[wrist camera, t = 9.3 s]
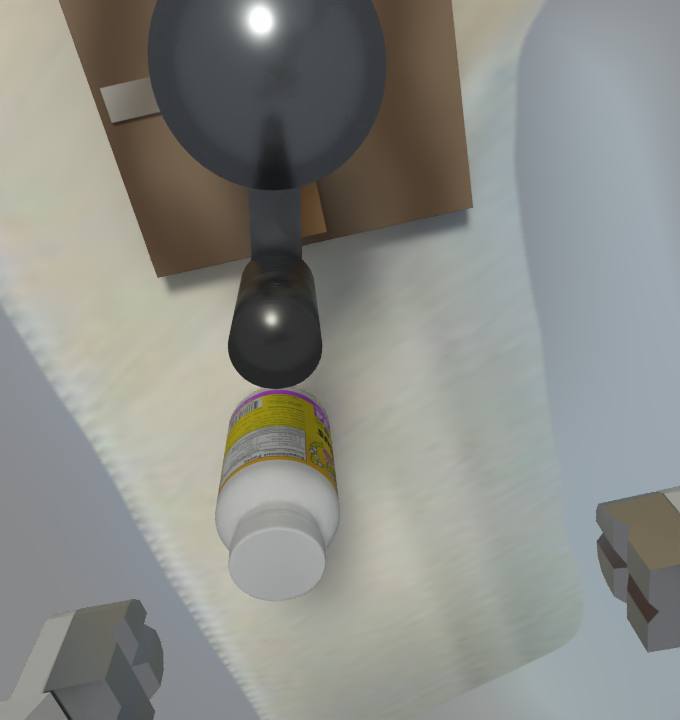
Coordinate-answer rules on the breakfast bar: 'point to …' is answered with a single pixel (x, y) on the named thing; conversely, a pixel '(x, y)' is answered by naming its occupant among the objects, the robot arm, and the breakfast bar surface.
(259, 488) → the supplement bottle
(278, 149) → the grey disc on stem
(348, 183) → the post base
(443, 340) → the breakfast bar surface
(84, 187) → the breakfast bar surface
